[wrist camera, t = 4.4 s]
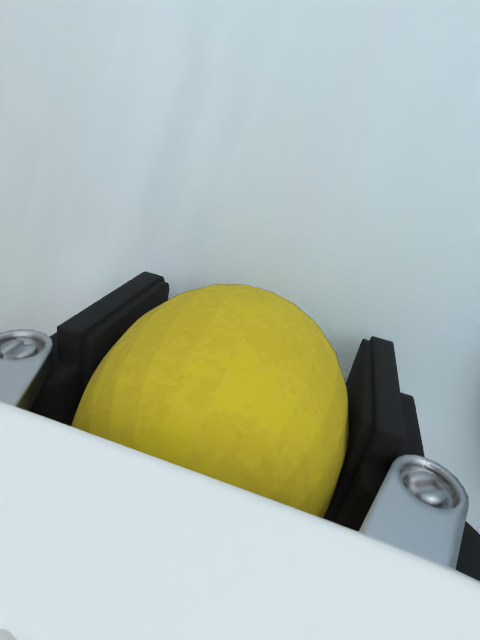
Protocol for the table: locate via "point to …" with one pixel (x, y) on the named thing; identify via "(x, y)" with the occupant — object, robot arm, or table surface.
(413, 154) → the table surface
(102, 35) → the table surface
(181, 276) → the table surface
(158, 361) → the lemon
